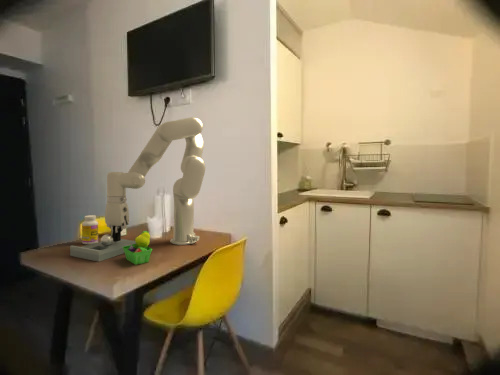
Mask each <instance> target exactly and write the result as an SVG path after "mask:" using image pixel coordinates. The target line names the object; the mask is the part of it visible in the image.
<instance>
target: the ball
mask: <svg viewBox="0 0 500 375" xmlns="http://www.w3.org/2000/svg"><path fill="white" fill-rule="evenodd" d="M100 242H101V244H102V245H104V246H109V245H111V244H112V242H113V237H112V235H111V234H107V233H106V234H104V235H102V236H101V238H100Z"/></svg>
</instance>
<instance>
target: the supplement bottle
mask: <svg viewBox="0 0 500 375" xmlns="http://www.w3.org/2000/svg"><path fill="white" fill-rule="evenodd" d="M96 218H97V216H96V215H95V214H94V215H93V214H91V215H84V221H83V222H82V224H81V243H82V244H83V245H90V244H94V243H97V242H99V222H98V220H97V219H96Z"/></svg>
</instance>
